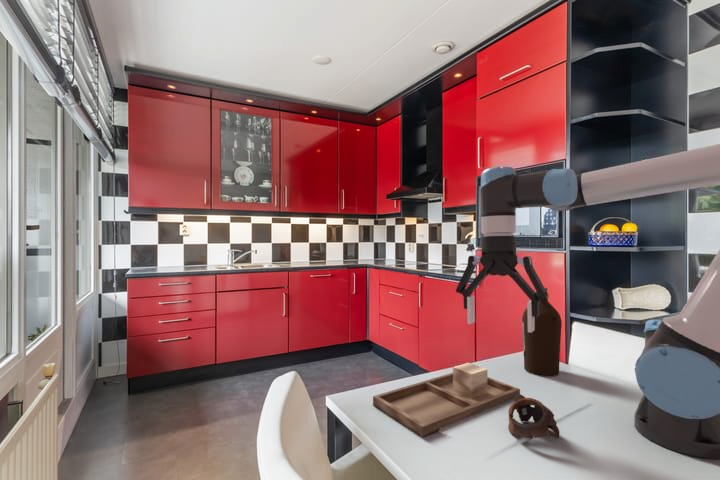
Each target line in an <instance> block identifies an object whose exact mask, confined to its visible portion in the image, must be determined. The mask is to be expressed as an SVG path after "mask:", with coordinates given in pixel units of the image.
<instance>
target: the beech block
mask: <svg viewBox="0 0 720 480" xmlns="http://www.w3.org/2000/svg"><path fill="white" fill-rule="evenodd" d="M452 373H453V390H454V391H456V392H458V393H460V394H463V395H465V396H467V397H469V398H471V399H472V398H475V397H478V396H480V395H483V394H486V393H487V377H488V369H487V368H485V367H482V366H479V365H476V364H473V363H470V362H465V363H462V364H460V365H459V364H458V365H455V366H453V367H452Z"/></svg>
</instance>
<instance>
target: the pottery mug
mask: <svg viewBox="0 0 720 480" xmlns="http://www.w3.org/2000/svg"><path fill="white" fill-rule="evenodd" d="M513 400H514V402H513V403H512V404H511V405H510V406H509V408H508V431H509V433H510V435H511V436H516V437H518V438H523V439H529V440H531V439H532V438H534V439H536V438H537V439H538V438H539V437H542V436H546V437H551V434H550V430H551V431H552V432H553V433H554V434H555V436H556V437H557V439H559V438H560V437H561V436H560V435H561V434H560V430H559V429H560V428H559V427H558V425H557V420H556V419H555V414H554V413H553V411H552V410H551V409H550V408H548V407H547V406H545V405H544V403H542V402H541V401H540V400H537V399H535V398H531V397H525V395H523V394H521V393H520V394H519V395H517V396H515V398H513ZM515 411H516V412H517V414H518V418H519V421H517V420H516V419H515V418H514V412H515ZM531 418H532V420H533V423H532V424H531V423H530V424H527V423H526V424H525V423H524V422H529V421H530V420H531ZM521 422H522V423H521Z"/></svg>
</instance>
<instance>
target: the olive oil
mask: <svg viewBox="0 0 720 480" xmlns="http://www.w3.org/2000/svg"><path fill="white" fill-rule="evenodd" d="M544 288H545V290H546V292H547V293H548V288H546V287H544ZM535 293H536V294H537V295H538V293H537V291H536V290H535ZM548 299H549V297H548V298H547V299H545V300H541V301H540V302H539V316H538V317H534V321H535V330H534V331H533V332H532V333H531V332H528V316H527V308H525V310H524V311H523V313H522V318H521V323H522V325H521V326H522V340H523V341H522V342H523V362H524V363H523V366H524V370H525V371H526V372H527V373H529V374H531V375H532V374H533V375H537V376H541V377H542V376H543V377H556V376H558V375H559V374H560V361H561V360H560V358H561V356H560V355H561V353H560V352H561V341H562V339H561V338H562V337H561V336H562V326H563V325H562V323H563V322H562V317H561V314H560V313H559V311H558V310H557V309H556V308H555V307H554V306H553V305H552V304H551V302H549V300H548Z"/></svg>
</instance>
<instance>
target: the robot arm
mask: <svg viewBox="0 0 720 480" xmlns="http://www.w3.org/2000/svg"><path fill="white" fill-rule="evenodd" d="M718 185H720V143H717V144H712V145H707V146H704V147H699V148H695V149H694V148H693V149H689V150H685V151H680V152H677V153H676V152H675V153H670V154H665V155H662V156H657V157H652V158H647V159H644V160H638V161H634V162H629V163H624V164H619V165H615V166H610V167H606V168H605V167H604V168H601V169H597V170H592V171H587V172H582V173H579V174H576V173H575V171H574V169H571V168H559V169H558V168H552V169H551V170H542V171H536V172H529V173H522V174H517V173H516V169H515V168H514V167H512V166H507V165H506V166H495V167H489V168H486V169H484V170H483V171H482V172H481V175H480V188H479V190H480V208H481V214H480V218H481V219H480V222H481V223H480V227H481V228H480V230H481V231H480V233H481V234H482V235H483V236H482V237H481V239H480V240H481V241H480V242H481V243H480V244H481V255H480V256H477V255H469V256H468V258H467V265H466V267H465V269H464V271H463V274H462V276H461V278H460V280H459V282H458V284H457V286H456V289H455V292H456V293H457V294H460V295H462V296H463V308H464V310H466V311H467V312H466V313H467V314H466V315H467V316H466V318H467V321H466V322H467V325H471V324H474V323H476V314H475V313H476V311H475V310H476V309H475V308H476V307H475V303H476V302H475V295H472V294H473V292H474V291H475V290H476V289H477V288H478V287H479V286H480V284H482V282H484V280H485V279H486V277H487V276H489V275H490V276H497V275H498V276H502V277H505V276H508V277H510V279H512V280H513V281H514V282H515V284H516V285H517V286H518V287H519V288H520V289H521V291H522V292H523V293H524V295H526V297H528V298H529V300H528V301H527V303H526V304H527V305H526V309H527V316H528V332H531V333H532V332H533V331H534V330H535V321H534V317H538V316H539V302H540V301H541V300H545V299H547V298H548V299H549V293H548V291H547V292H546V290H545V288H546V287H545V286H544V284H543V282H542V281H541V279H540V277H539V274H538V273H537V271H536V270H535V268H534V265H533V258H532V256H529V255H528V256H522V257H518V255H517V237H516V236H515V235H514V234H516V233H517V232H516V231H517V219H516V218H517V215H516V211H517V209H523V208H524V209H525V208H547V209H552V210H554V211H557V212H565V211H570V210H573V209H575V208H581V207H586V206H587V207H588V206H592V205H598V204H604V203H611V202H617V201H618V202H619V201H623V200H629V199H636V198H643V197H648V196H649V197H650V196H655V195H661V194H667V193H674V192H680V191H687V190H693V189H698V188H706V187H713V186H718ZM479 263H480V264H481V265H482V266H483V268H482V269H480V270H479V273H478V274H477V276H475V278H474V279H473V280H472V281H470V279H471V277H472V275H473V273H474V271H475V270H476V266H478V264H479ZM518 264H520V266H521V267H523V268H524V270H525V272H526V274H527V276H528V278H529V280H530V282H531V284H532V286H533V288H534V289H535V290H534V289H533V288H532V287H531V286H530V285H529V283H528V282H527V281H526V280H525V279H524V278H523V277H522V276H521V274H520V272H519V271H518V270H517V268H516V266H518ZM469 281H470V283H469ZM536 291H537V293H538V295H537V294H536V293H535V292H536ZM644 325H645V326H644V330H643V333H644V347H643V349H642V352H641V354H640V355H639V356H638V358H637V360H636V362H635V368H634V373H635V379H636V383H637V386H638V388H639V389H640V391H641V392H642V393H643V394H642V395H641V399H640V401H639V402H638V405H637V407H636V410H635V412H634V419H633V420H634V424H633V426H634V428H635V429H636V430H637V432H638V433H639V434H640V435H642V436H643V437H645V438H646V439H647V440H649V441H651V442H653V443H655V444H657V445H660V446H661V447H663V448H666V449H669V450H672V451H675V452H678V453H681V454H684V455H688V456H692V457H698V458H703V459H712V460H713V459H714V460H720V249H719V250H718V251H717V253H716V255H714V258H713V259H712V261H711V262H710V264H709V266H708V267H707V269H706V270H705V272H704V274H703V276H702V277H701V278H700V280H699V282H698V283H697V285H696V287H695V288H694V290H693V292H692V293H691V295H690V296H689V298H688V299H687V301H686V303H685V305H683V307H682V310H681V311H680V312H679V314H677V315H672V316H668V317H667V316H666V317H664V318H663V319H649V320H647V321H645V324H644Z"/></svg>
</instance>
